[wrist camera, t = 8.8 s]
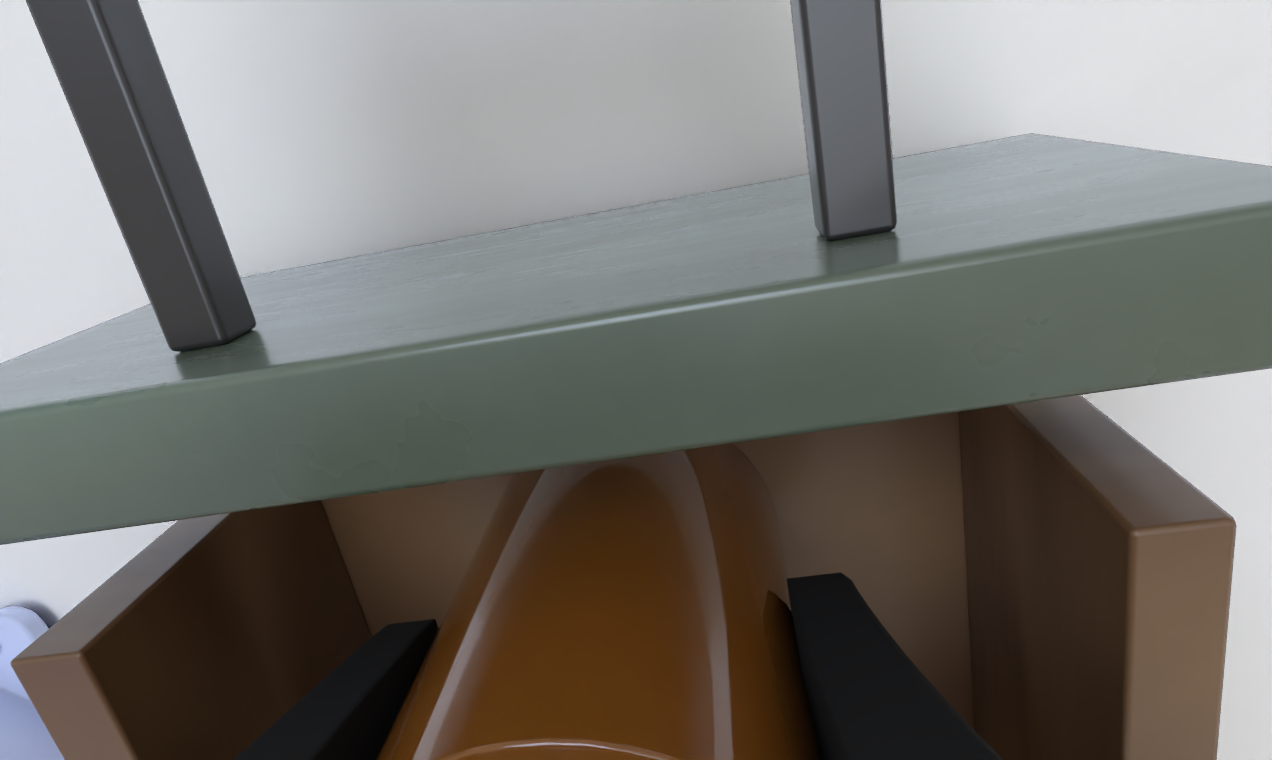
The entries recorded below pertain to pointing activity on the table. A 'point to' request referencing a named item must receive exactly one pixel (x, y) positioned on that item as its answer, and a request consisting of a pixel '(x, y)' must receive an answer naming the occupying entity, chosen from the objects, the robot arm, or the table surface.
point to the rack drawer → (652, 410)
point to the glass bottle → (618, 623)
